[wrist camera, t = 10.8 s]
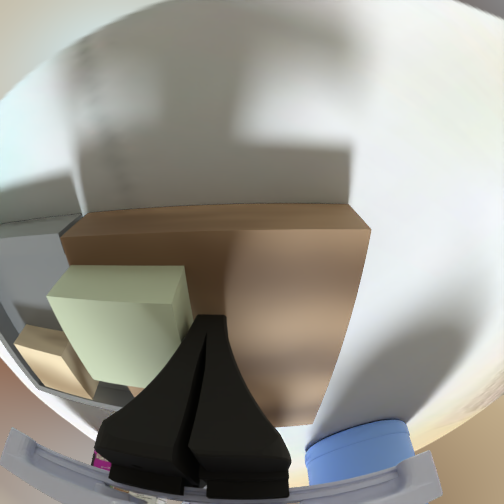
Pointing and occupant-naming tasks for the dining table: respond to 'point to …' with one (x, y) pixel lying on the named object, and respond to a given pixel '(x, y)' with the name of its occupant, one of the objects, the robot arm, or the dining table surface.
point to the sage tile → (123, 318)
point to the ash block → (55, 361)
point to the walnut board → (251, 283)
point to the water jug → (358, 451)
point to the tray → (40, 294)
